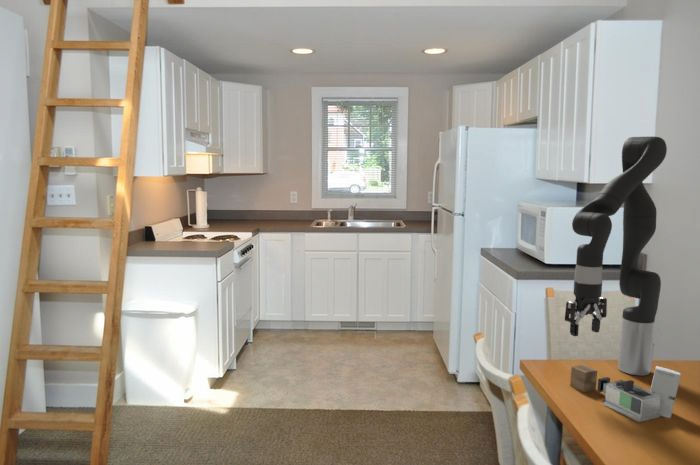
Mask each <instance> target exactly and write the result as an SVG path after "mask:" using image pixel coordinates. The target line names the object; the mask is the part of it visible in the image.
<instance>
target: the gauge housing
mask: <svg viewBox="0 0 700 465" xmlns="http://www.w3.org/2000/svg"><path fill="white" fill-rule="evenodd" d="M623 381H626V380H623ZM632 392H635V394H634V393H632ZM632 392H630V391H629V392H626V391H624V389H623V388H621V387H618V386H617V387H616V386H613V384H611V383H609V384H607V386H606V394H605V396H604V398H605V400H604V401H603V405H604V406H605V407H607V408H609V409H611V410H613V411H615V412H617V413H620V414H621V415H623V416H626V417H627V418H629V419H632V420H634V421H636V422H638V423H642V422H645V421H649V420H653V419H658V418H661V416H660V413H659V406H660V395H658V394H655V393H653V392H650V390H648V389H646V388H643V387H641V386H639V385H636V384H634V386H633V391H632Z"/></svg>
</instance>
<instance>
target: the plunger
mask: <svg viewBox="0 0 700 465" xmlns="http://www.w3.org/2000/svg"><path fill="white" fill-rule="evenodd" d="M625 381H626V380H625ZM625 381H624V380H623V379H619V380H615V381H614V380H613V381H612V382H611V377H608V376H605V377H601V378H597V387H596V391H597V392H598V393H603V394H604V395H606V386H607V384H609V383H611V384H613V386H616V387H617V386H618V387H621V388H623V389H624V383H625ZM630 392H632V391H630ZM632 393H634V394H635V392H632Z"/></svg>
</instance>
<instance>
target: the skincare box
mask: <svg viewBox="0 0 700 465" xmlns="http://www.w3.org/2000/svg"><path fill="white" fill-rule="evenodd" d="M654 370H655V371H654V374H653V377H652V382H651V386H650V390H649V391H650V392H653V393H655V394H658V395H660V406H659V413H660V417H662V418H663V417H664V418H666V419H671V418H672V414H673V409H674V405H675V401H676V397H677V393H678V389H679V385H680V380H681V377H682V376H681V372H680V371H678V370H672V369H670V368H665V367H661V366H659V365H656V366H655V368H654Z"/></svg>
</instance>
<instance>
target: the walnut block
mask: <svg viewBox="0 0 700 465" xmlns="http://www.w3.org/2000/svg"><path fill="white" fill-rule="evenodd" d="M597 383H598V369H595V368H592V367H590V366H588V365H586V364H580V365H579V364H578V365H575V366H574V365H573V366H571V372H570V384H569V386H570V387H572V388H574V389H576V390H578V391H580V392H582V393H586V392H592V391H597Z"/></svg>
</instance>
